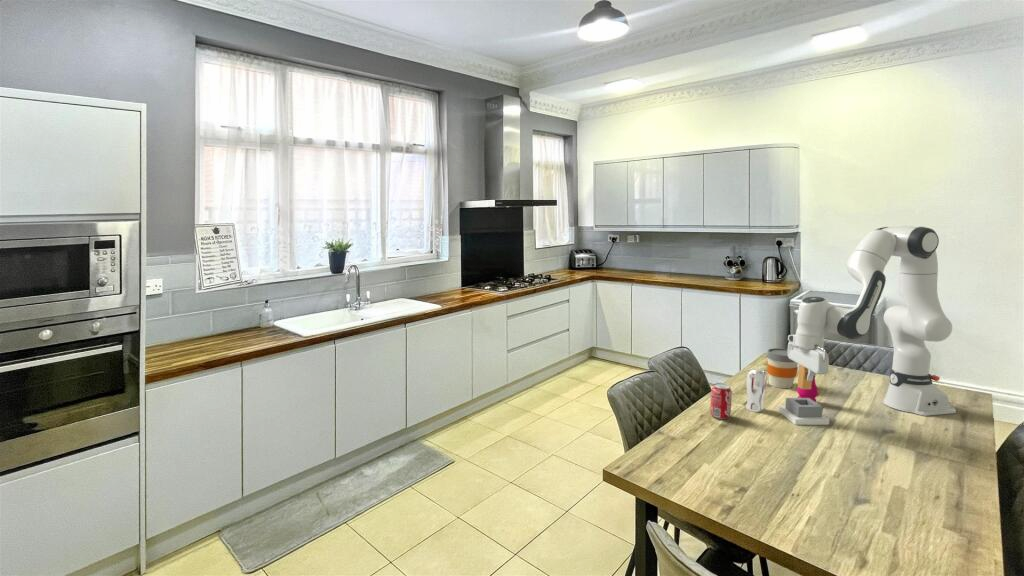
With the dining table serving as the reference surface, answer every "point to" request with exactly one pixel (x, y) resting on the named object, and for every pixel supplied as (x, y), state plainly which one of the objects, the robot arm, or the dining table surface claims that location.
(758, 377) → the clear waisted cup
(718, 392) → the soda can
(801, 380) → the pin
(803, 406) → the socket
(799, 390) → the pepper mill
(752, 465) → the dining table surface
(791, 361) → the reusable coffee cup
